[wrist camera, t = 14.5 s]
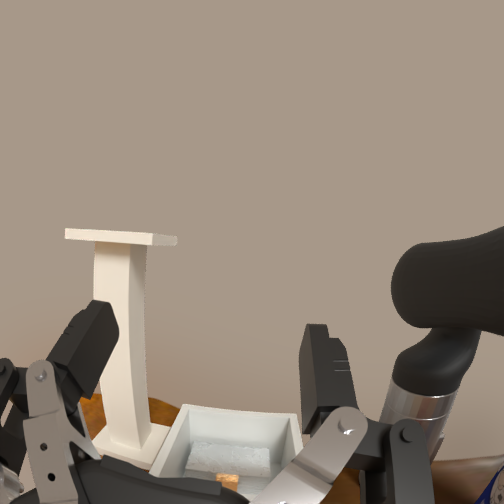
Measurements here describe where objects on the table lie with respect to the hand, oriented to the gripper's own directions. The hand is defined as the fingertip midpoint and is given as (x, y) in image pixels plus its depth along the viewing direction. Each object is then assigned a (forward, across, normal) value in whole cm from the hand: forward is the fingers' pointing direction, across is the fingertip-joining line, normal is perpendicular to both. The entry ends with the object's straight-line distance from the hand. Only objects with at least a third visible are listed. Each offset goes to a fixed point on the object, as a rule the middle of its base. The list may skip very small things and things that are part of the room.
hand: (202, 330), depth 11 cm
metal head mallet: (-3, 0, +29) cm, 29 cm away
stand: (+4, +15, +35) cm, 38 cm away
